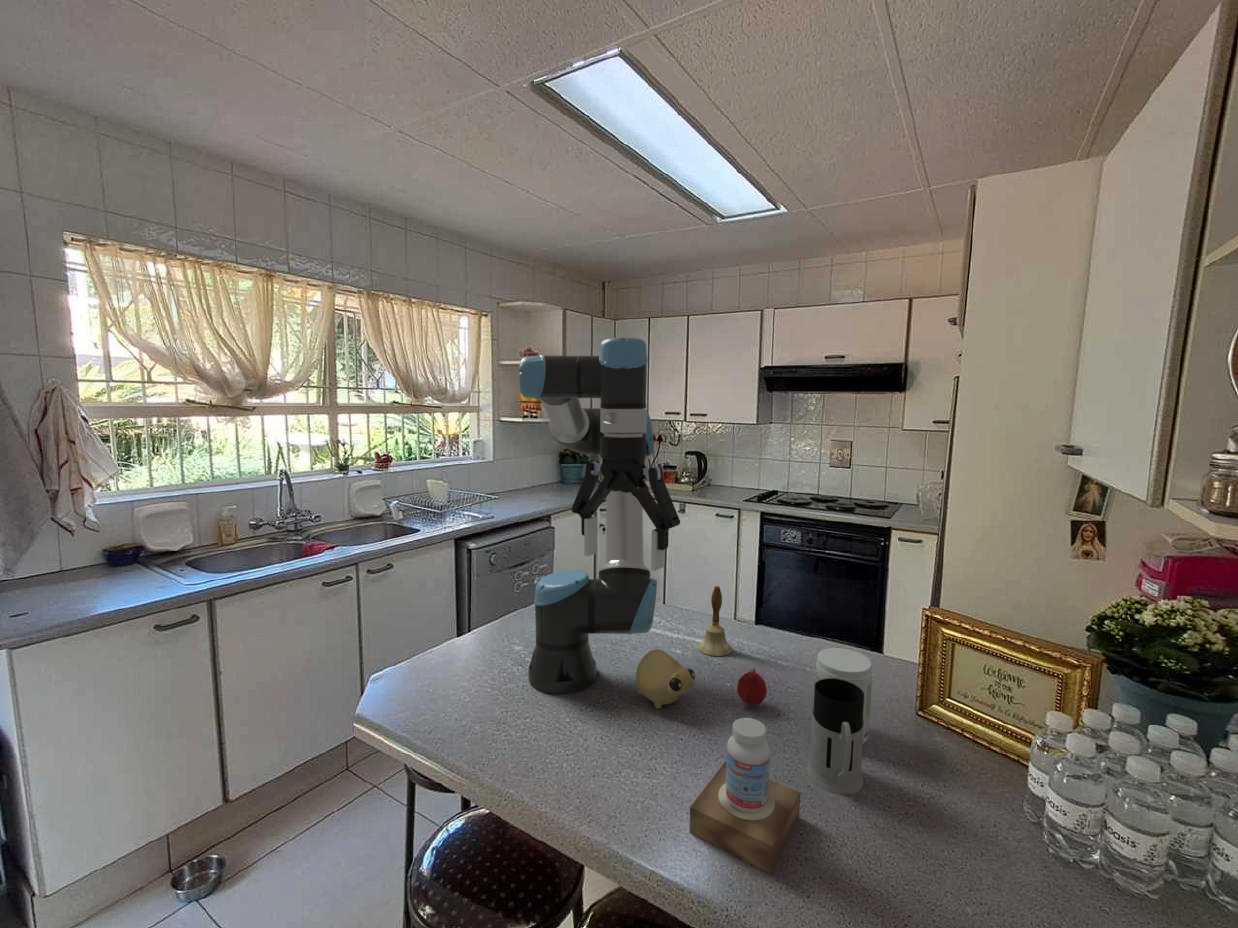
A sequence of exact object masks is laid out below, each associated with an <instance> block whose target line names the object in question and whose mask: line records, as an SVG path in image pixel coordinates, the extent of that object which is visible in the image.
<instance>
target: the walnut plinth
mask: <svg viewBox="0 0 1238 928" xmlns="http://www.w3.org/2000/svg"><path fill="white" fill-rule="evenodd" d="M723 762H724V763H723V764H722V765H721V766H720V768H719V769H718V770H717V772H715V774H714V775H713V777H712V778H711V779H710V781H708V782H707V784H706V785H705V787H704V788H703V790H702V791H701V792H700V793H699V795H698V796H697V797H696V798H695V800H694V801H693V802H692V804H691V806H689V833H690V834H692V835H694V836H695V837H698V838H700V839H702V840H704V841H706V842H708V843H709V844H711V845H714V846H715V847H718V848H719V849H721V850H723V851H725V852H728V853H729V854H731V855H733V856H734V857H736V858H739V859H741V860H743V861H744V862H747V863H748V864H751V865H752V866H755V867H756V868H758V869H761V870H762V871H764V872H766V873H768V874H771V875H772V873H773V872H774V869H775V866H777V865H776V864H778V863H777V862H778V861H779V859H780V857H781V855H782V852H783V851H784V849H785V846H786V845H787V843H788V841H789V838H790V836H791V835H792V833H793V830H794V829H795V827H796V824H797V822H798V821H799V818H800V812H801V811H800V809H801V808H800V806H801V792H800V791H797V790H795V789H793V788H791V787H788V786H786V785H784V784H781V783H778V782H776V781H773V780H772V779H769V787H768V801H767V804H766V806H765V808H764V809H762V810H761V811H758V812H752V813H750V812H744V811H741V810H738V809H736V808H735V807H733V806H732V805H731V804H730V803H729V801H728V800H727V797H726V764H727V761H723Z"/></svg>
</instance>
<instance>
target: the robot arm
mask: <svg viewBox="0 0 1238 928" xmlns="http://www.w3.org/2000/svg"><path fill="white" fill-rule="evenodd" d="M599 348H600V351H599V355H544V354H540V355H531V356H530V355H529V356H528V355H527V356H524V357H523V358H521V360H520V362H519V367H518V383H519V384H518V385H519V390H520V391H519V392H520V393H521V395H522V396H523V397H524V398H526V399H527V398H528V399H535V400H539V399H540V401H541V403H542V406H543V409H544V410H545V413H546V415H547V416H548V429H549V432H550V434H551V435H552V437H553V439H554V440H555V441H556V442H557V443H558V444H560V445H561V446H562V447H565V448H566V449H568V450H570V451H572V452H575V453H578V454H582V455H586V456H600V461H598V460H594V461H588V462H586V464H585V473H584V477H583V479H582V482H581V485H580V487H579V490H578V492H577V493H576V497H575V499H574V501H573V503H572V506H571V512H572V514H577V515H578V516H579V517H580V518H581V520H580V521H581V522H580V523H581V525H580V526H581V527H580V528H581V535H582V536H583V538H584V542H583V543H584V550H583V551H584V557H590V556H593V555H595V554H598V516H595V515H596V511H597V510H598V509H599V508H600V506H601V505H602V504H603V502H604V501H605V500H606V503H605V511H606V512H605V513H606V514H605V517H606V518H605V563H604V564H603V566H602V567H601V568H600V569H599V570H598V578H591V579H590V577H589V574H588V573H587V571H584V570H579V569H566V570H561V571H560V570H559V571H557V572H556V571H555V572H552V573H550V574H548V575H547V574H546V575H545V576H544V577H542V578H540V579H539V580H538V582H537V583H536V585H535V592H534V593H535V595H534V601H533V604H534V609H535V610H534V612H535V613H534V615H535V617H534V618H535V645H534V650H533V653H532V655H531V659H530V662H529V666H528V682H529V684H530V685H531V686H532V687H533V688H535V689H536V690H538V691H541V692H544V693H548V694H557V695H559V694H560V695H562V694H571V693H575V692H579V691H583V690H584V689H586V688H588V687H589V686H590V685H592V684H593V683H594V682H595V680H596V679H597V662H596V660H595V659H594V657H593V653H592V649H591V646H590V644H589V635H591V634H595V635H596V634H599V635H600V634H602V635H604V634H605V635H606V634H608V635H609V634H611V635H615V634H617V635H618V634H620V635H622V634H624V635H633V634H646V633H648V632H650V631H651V629H652V626H653V623H654V617H655V611H656V610H655V609H656V601H657V599H656V598H657V588H658V587H657V585H658V582H657V581H658V580H657V579H655V578H651V571H655V572H656V571H658V570H661V569H663V568H664V567H665V550H666V549H668V548H669V543H670V542H669V533H670V532H669V531H670V529H672V528H675V527H678V526H679V525H681V520H680V517H679V515H678V512H677V510H676V508H675V504H674V502H673V500H672V498H671V495H670V493H669V490H668V488H667V485H666V483H665V480H664V470H663V467H662V466H660V465H657V466H654V467H646V464H647V463H648V461H649V457H650V456H652V455H654V452H655V445H654V443H655V442H654V432H653V425H652V419H651V416H650V414H649V412H648V411H647V374H648V373H647V371H648V370H647V365H648V360H649V359H648V356H647V355H648V353H647V343H646V341H645V340H644V339H642V338H637V337H610V338H606V339H602V341H601V342H600V347H599ZM580 399H600V405H599V407H600V408H593V407H591V408H590V407H589V408H586V407H585V408H583V407H582V403H581V400H580ZM600 474H601V475H602V477H603V478H602V480H601V481H600V482H599V484H598V486H597V489H596V490H595V492H594V489H595V487H596V485H597V482H598V479H599V477H600ZM645 478H646V480H647V481H648V482H649V486H650V488H649V486H648V484H647V483H646V482H645V480H644V479H645ZM650 489H651V491H652V493H651V492H650V491H649V490H650ZM593 492H594V493H593ZM652 494H653V495H652ZM643 510H644V511H643ZM643 512H645V513H646V515H647V517H648V518H649V520H650V521H651V523H652V524H653V526H654V527H655V528H654V529H651V541H650V542H651V547H650V549H651V552H650V553H651V555H650V556H651V558H650V559H651V561H650V562H651V563H650V567H651V568H650V569H649V568H648V567H647V566H646V565H645V564H644V521H643V520H644V517H643V516H644V515H643Z"/></svg>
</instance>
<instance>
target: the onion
mask: <svg viewBox="0 0 1238 928" xmlns="http://www.w3.org/2000/svg"><path fill="white" fill-rule="evenodd" d="M736 686H737V687H736V689H737V694H738V696H739V699H740V700H741V701H742V702H743V703H744V704H745V705H747V706H749V707H751V708H753V707H756V706H758V705H760V704H761V703H763V701H764V700H765V698H766V697H767V690H768V689H767V688H768V687H767V684H766V682H765V680H764V679H763V677H762V676H761V675H760V674H758V672H757V671H756V668H755V667H751V668H750V669H749V671H748V672H746V673H744V674H743V675H741V676H740V678H739V679H738V681H737V685H736Z"/></svg>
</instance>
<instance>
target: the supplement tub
mask: <svg viewBox="0 0 1238 928" xmlns="http://www.w3.org/2000/svg"><path fill="white" fill-rule="evenodd" d="M872 666H873V664H872V662H871V660H870V658H868V657H867V656H866V655H864V654H863V653H860V652H858V651H855V650H852V649H847V648H841V647H829V648H825V649H822V650H820V651H819V652H818V654H817V659H816V665H815V667H816V671H815V683H816V682H817V681H819V680H822V679H829V678H832V679H840V680H844V681H848V682H850V683H853V684H855V685H856V686H858V687H859V688H860V689H861V690H862V691H863V693H864V708H863V719H864V728H863V745H864V744H865V743H866V742H867V741H868V739H869V738H870V727H871V725H870V723H871V707H872V706H871V704H872V703H871V702H872V690H873V689H872V687H873V686H872V685H873V667H872Z"/></svg>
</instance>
